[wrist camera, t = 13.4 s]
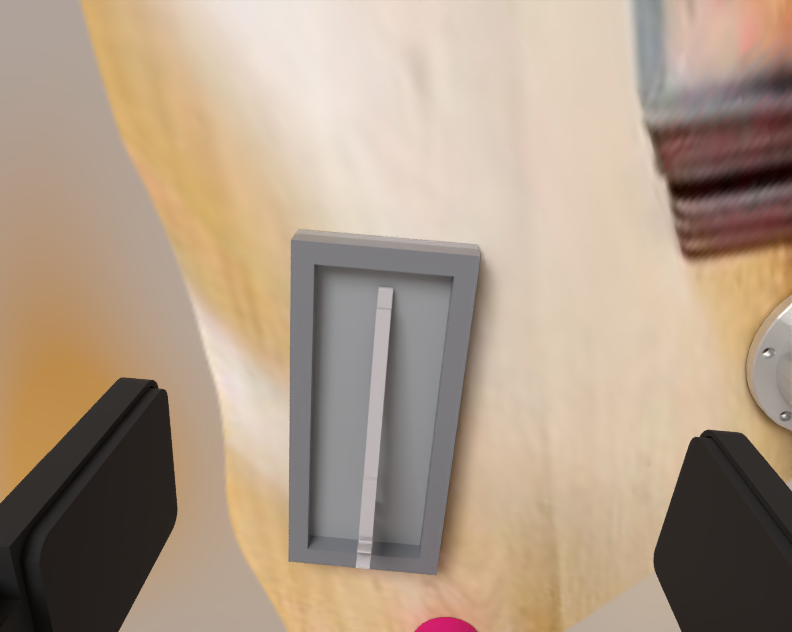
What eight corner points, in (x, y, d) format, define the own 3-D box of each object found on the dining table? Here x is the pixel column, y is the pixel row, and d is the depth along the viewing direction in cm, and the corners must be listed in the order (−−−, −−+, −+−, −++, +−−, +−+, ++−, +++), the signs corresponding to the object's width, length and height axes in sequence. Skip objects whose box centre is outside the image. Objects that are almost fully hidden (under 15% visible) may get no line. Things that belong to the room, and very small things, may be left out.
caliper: (376, 521, 49) (369, 584, 43) (362, 520, 49) (354, 582, 43) (393, 286, 41) (388, 324, 35) (377, 284, 41) (370, 322, 35)
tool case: (477, 244, 40) (480, 256, 38) (436, 551, 51) (436, 575, 49) (298, 229, 41) (291, 239, 38) (294, 538, 51) (288, 561, 49)
